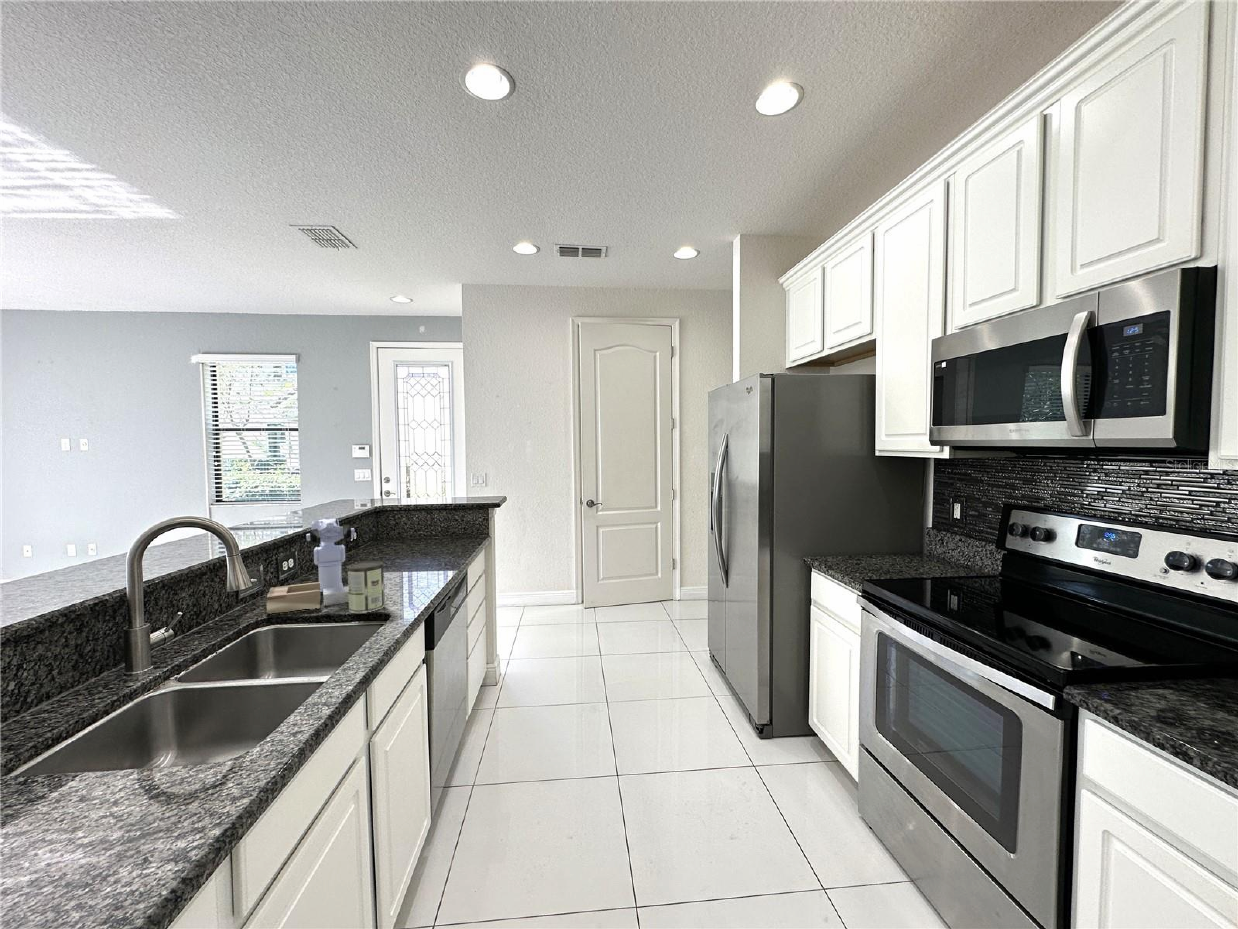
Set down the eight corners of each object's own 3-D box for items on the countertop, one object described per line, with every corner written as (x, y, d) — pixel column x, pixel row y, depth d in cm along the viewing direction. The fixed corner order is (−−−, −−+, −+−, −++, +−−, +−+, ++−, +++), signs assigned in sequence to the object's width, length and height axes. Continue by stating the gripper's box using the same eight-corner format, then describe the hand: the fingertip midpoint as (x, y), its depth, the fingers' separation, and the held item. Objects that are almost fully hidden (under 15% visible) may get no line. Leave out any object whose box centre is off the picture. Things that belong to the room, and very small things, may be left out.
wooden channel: (271, 604, 170) (270, 587, 170) (320, 598, 177) (319, 582, 177) (267, 615, 159) (266, 597, 159) (319, 608, 166) (319, 590, 166)
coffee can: (360, 603, 170) (359, 561, 170) (390, 604, 169) (389, 561, 169) (340, 613, 160) (339, 568, 160) (372, 614, 159) (371, 568, 159)
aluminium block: (323, 600, 175) (323, 589, 175) (356, 596, 180) (356, 585, 180) (323, 606, 169) (323, 594, 168) (358, 602, 174) (357, 590, 173)
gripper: (305, 523, 180) (305, 530, 168) (351, 517, 187) (355, 524, 176) (306, 543, 180) (307, 551, 169) (353, 537, 188) (357, 544, 176)
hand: (332, 538), depth 172 cm, fingers open, 7 cm apart
